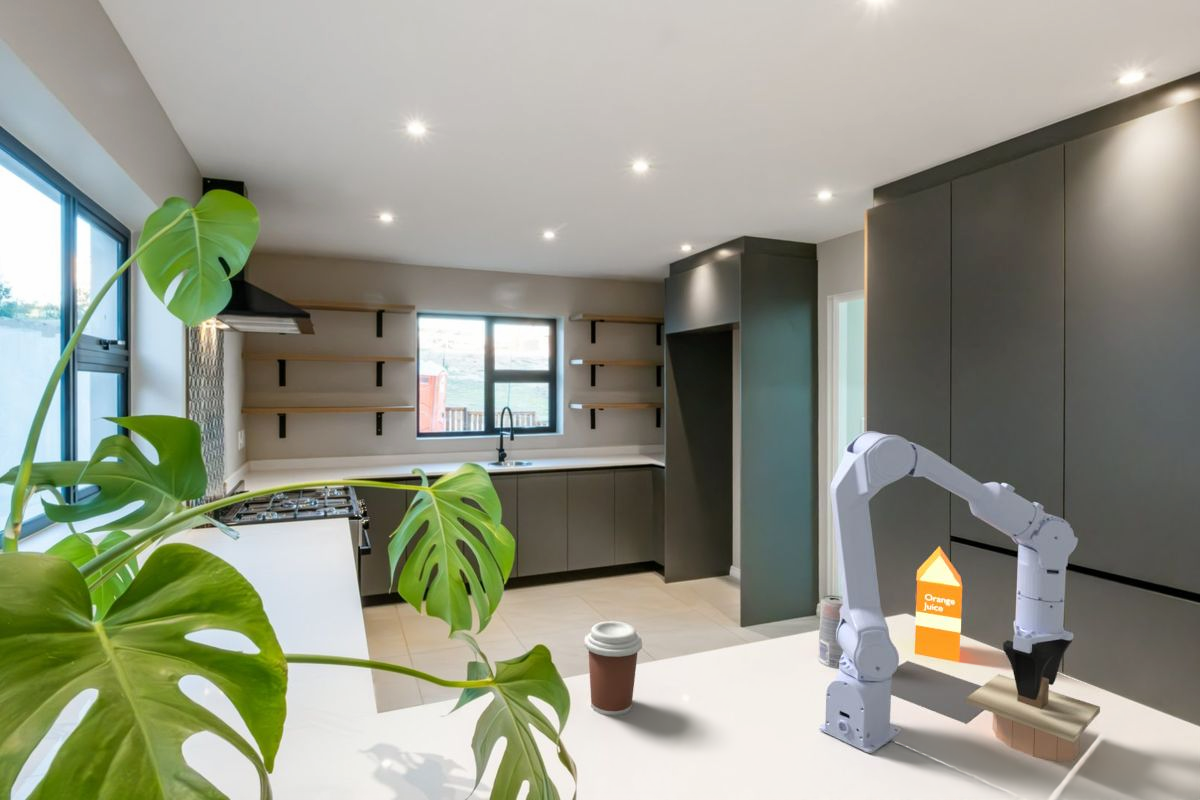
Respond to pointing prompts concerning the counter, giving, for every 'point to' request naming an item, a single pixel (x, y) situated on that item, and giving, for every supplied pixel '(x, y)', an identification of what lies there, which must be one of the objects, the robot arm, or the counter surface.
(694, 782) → the counter surface
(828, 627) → the energy drink
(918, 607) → the orange juice
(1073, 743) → the bowl
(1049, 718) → the lid
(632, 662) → the coffee cup
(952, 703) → the mat
